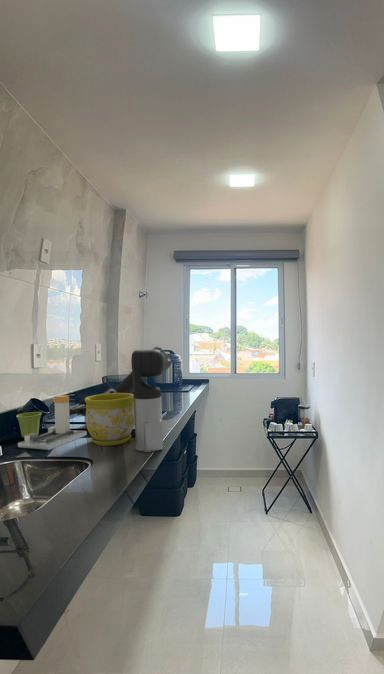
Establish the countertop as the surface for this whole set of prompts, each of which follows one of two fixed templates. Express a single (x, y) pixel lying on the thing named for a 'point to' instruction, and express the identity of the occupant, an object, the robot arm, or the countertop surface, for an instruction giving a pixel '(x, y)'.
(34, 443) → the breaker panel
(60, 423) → the white bottle
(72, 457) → the countertop surface
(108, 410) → the flowerpot
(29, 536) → the countertop surface
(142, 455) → the countertop surface
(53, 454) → the countertop surface
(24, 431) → the plant pot
